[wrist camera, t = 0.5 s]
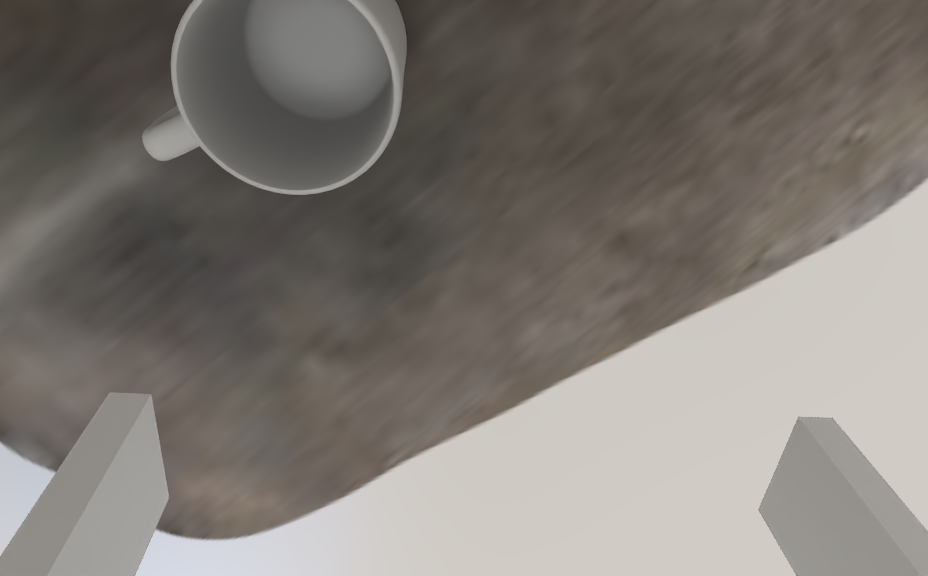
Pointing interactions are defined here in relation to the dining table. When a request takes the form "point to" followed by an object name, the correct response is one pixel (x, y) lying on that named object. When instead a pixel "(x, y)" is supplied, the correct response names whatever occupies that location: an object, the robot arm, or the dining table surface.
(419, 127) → the dining table surface
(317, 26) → the mug
